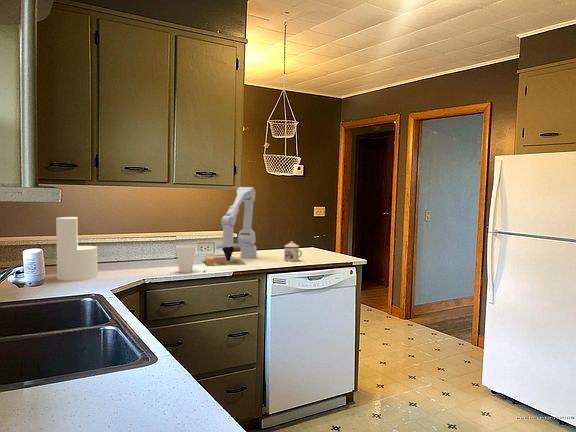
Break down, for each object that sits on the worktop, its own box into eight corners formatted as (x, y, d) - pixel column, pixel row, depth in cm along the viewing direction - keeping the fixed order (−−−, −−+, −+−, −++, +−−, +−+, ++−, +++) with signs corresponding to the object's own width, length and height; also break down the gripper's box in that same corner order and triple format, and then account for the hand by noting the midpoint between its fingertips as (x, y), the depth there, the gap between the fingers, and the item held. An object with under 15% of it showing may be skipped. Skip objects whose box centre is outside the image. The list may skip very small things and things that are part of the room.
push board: (238, 261, 264) (238, 259, 264) (247, 266, 245) (247, 264, 245) (201, 262, 257) (201, 260, 257) (206, 268, 238) (206, 266, 238)
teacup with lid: (280, 260, 268) (281, 241, 268) (290, 259, 276) (290, 240, 275) (296, 262, 261) (297, 243, 260) (305, 261, 268) (306, 241, 268)
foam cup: (198, 270, 230) (198, 245, 230) (188, 274, 222) (188, 248, 221) (182, 269, 233) (182, 245, 233) (172, 272, 225) (172, 246, 224)
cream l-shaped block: (55, 281, 199) (54, 219, 197) (58, 275, 214) (57, 216, 213) (97, 279, 205) (97, 218, 204) (97, 272, 221) (96, 216, 220)
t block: (223, 260, 258) (223, 255, 258) (226, 263, 246) (226, 258, 246) (205, 261, 255) (205, 255, 255) (207, 264, 244) (207, 259, 243)
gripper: (236, 235, 259) (236, 258, 259) (213, 236, 250) (213, 260, 251) (242, 236, 253) (242, 260, 254) (219, 237, 244) (218, 262, 245)
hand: (228, 260), depth 252 cm, fingers closed
